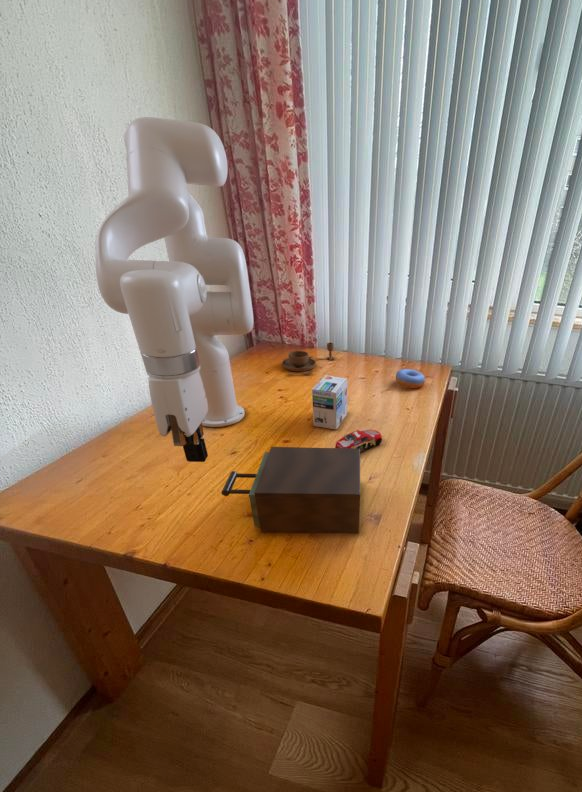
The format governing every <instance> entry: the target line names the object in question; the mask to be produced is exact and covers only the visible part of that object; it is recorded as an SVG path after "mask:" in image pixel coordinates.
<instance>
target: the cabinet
mask: <svg viewBox="0 0 582 792" xmlns="http://www.w3.org/2000/svg"><path fill="white" fill-rule="evenodd" d="M268 452H269V454H268V457H267V460H266V462H265V465H264V468H263V471H262V473H261V476H260V479H259V482H258V484H257V487H256V490H255V493H254V494H255V500H256V506H257V512H258V518H259V524H260V527H259V528H260V533H261V534H360V516H361V515H360V513H361V452H360V449H352V448H335V447H304V446H302V447H301V446H300V447H299V446H270V448H269V451H268Z"/></svg>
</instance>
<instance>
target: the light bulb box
mask: <svg viewBox="0 0 582 792" xmlns="http://www.w3.org/2000/svg"><path fill="white" fill-rule="evenodd" d="M311 397H312V414H313V415H312V416H313V417H312V418H313V426H314V427H317V428H323V429H324V428H325V429H330V430H338V428H339V427H340V425H341V424H342V422H343V421H344V419H345V418H346V417H347V415H348V378H346V377H345V378H344V377H338V376H332V375H324V376H323V377H322V378H321V379H320V380H319V381H318V382H317V383H316V384H315V385H314V387H313V388H311Z"/></svg>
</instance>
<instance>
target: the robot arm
mask: <svg viewBox="0 0 582 792" xmlns="http://www.w3.org/2000/svg"><path fill="white" fill-rule="evenodd" d="M123 142H124V146H125V151H126V152H125V153H126V173H127V174H126V175H127V190H128V191H127V193H128V196H127V197H126V198H125V199H123V200H121V202H119V203H118V204H117V205H116V206H115V207H114V208H113V209H112V210H111V211H110V212H109V214H108V215H107V216H106V217H105V218H104V220H103V221H102V222H101V224H100V225H99V227H98V229H97V232H96V235H95V241H94V242H95V244H94V245H95V247H94V249H95V273H96V281H97V282H96V283H97V286H98V290H99V293H100V295H101V297H102V300H103V301H104V303H105V304H106V305H107V306H108V307H109V308H110V309H112V310H113V311H115V312H118V313H120V314H124V315H128V317H129V320H130V323H131V326H132V330H133V332H134V336H135V339H136V343H137V346H138V350H139V352H140V355H141V359H142V363H143V365H144V368H145V372H146V374H147V376H148V389H149V396H150V402H151V407H152V410H153V414H154V419H155V422H156V426H157V429H158V433H159V435H160V436H161V437H167V436H168V435H169V434H170V433H171V437H172V442H173V446H174V447H182V448H183V452H184V456H185V459H186V461H187V462H189V463H205V462H206V460H207V459H208V457H209V453H208V450H207V445H206V443H205V442H206V441H205V438H204V435H205V432H204V427H208V428H221V427H227V426H228V427H229V426H231V425H234V424H236V423H238V422H240V421H241V420H242V419H243V418H244V417H245V414H246V413H245V409H244V408H243V407H242V406H241V405H239V404H237V403H238V401H237V397H236V390H235V385H234V380H233V373H232V366H231V361H230V355H229V352H228V350H227V347H225V345H224V343H222V342H221V341H220V339H219V338H218V337H216V336H233V335H234V336H238V335H247V334H250V333H251V332H252V331H253V329H254V311H253V304H252V303H253V302H252V295H251V289H250V280H249V274H248V267H247V263H246V262H247V261H246V257H245V253H244V250H243V248H242V246H241V244H240V243H238V241H236V240H234V239H232V238H228V237H209V236H208V234H207V230H206V222H205V217H204V215H205V214H204V212H203V209H202V207H201V206H200V204H199V203H198V202H197V200H196V199H195V198H194V197H193V196H192V194H191V193H190V192H189V191H188V185H196V186H197V185H199V186H208V187H210V186H211V187H218V188H219V187H223V186H224V185H225V184H226V182H227V178H228V174H229V173H228V171H229V170H228V158H227V154H226V150H225V147H224V144H223V142H222V140H221V138H220V136H219V135H218V134H217V133H216V131H215V130H214V129H213V128H211V127H210V126H208V125H206V124H204V123H200V122H196V121H188V120H187V121H186V120H179V119H178V120H177V119H170V118H161V117H153V116H145V117H143V116H142V117H138V118H135V119H133V120H132V121H130V123H129V124H128V125H127V126H126V130H125V131H124V133H123ZM162 239H164V243H165V249H166V253H167V258H168V260H146V259H145V260H142V259H141V260H140V259H129V258H130V256H132V254H133V253H134V252H135V251H137V250H138V249H140V248H142V247H145V246H146V245H149V244H151V243H153V242H157V241H159V240H162ZM207 286H225V287H227V288H228V289H229V291H211V290H207ZM203 426H204V427H203Z"/></svg>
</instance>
